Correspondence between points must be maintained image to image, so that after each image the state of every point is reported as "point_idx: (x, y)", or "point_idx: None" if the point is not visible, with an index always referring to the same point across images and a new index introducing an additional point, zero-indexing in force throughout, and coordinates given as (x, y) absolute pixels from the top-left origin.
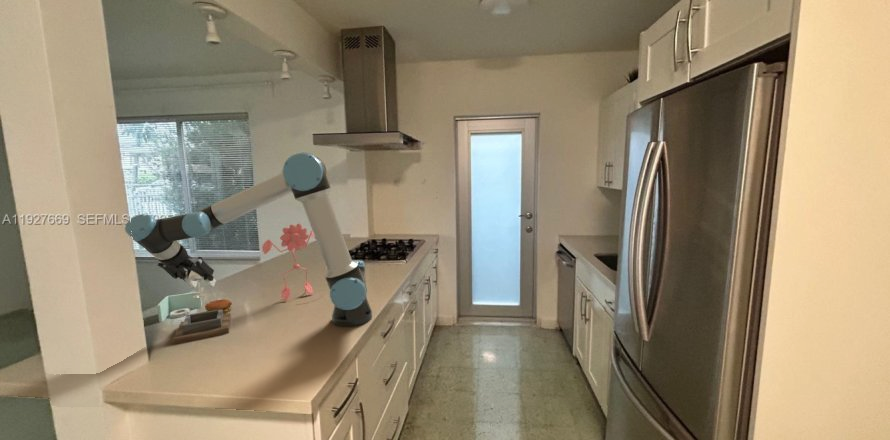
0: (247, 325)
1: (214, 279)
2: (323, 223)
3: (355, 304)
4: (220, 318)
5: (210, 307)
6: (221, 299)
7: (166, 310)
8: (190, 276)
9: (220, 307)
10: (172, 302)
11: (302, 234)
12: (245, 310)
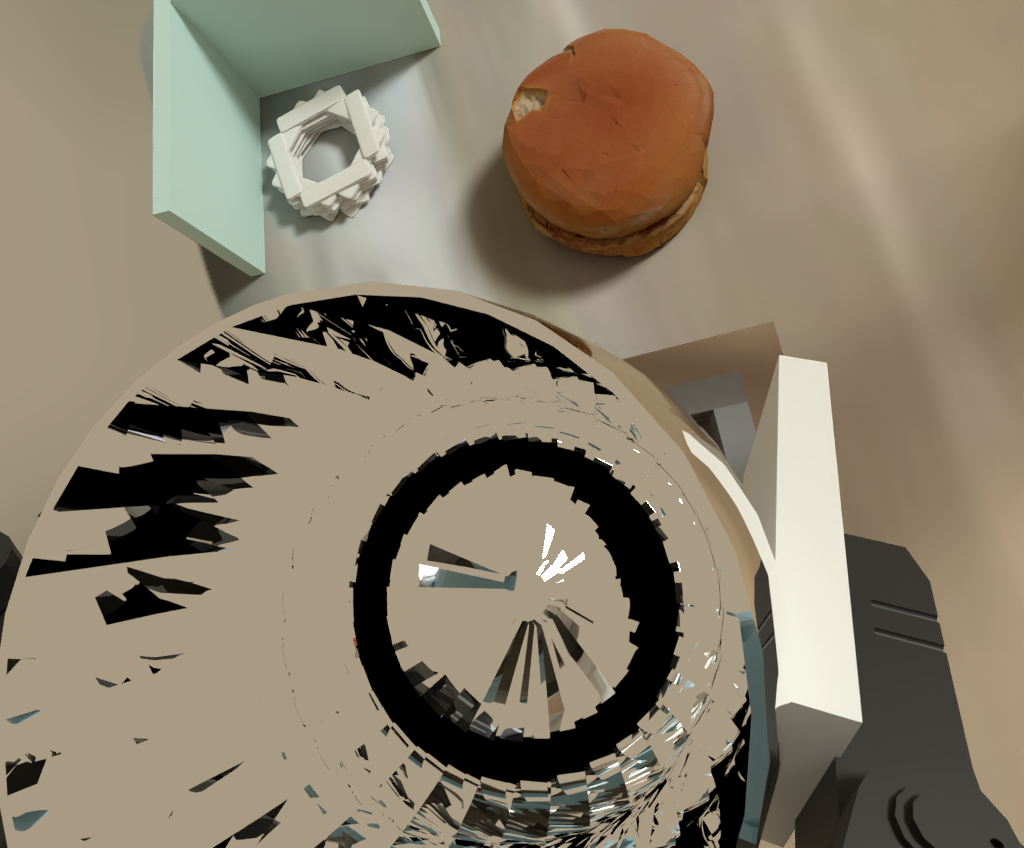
0: (1015, 599)
1: (828, 410)
2: None
3: None
4: None
5: (565, 207)
6: (608, 37)
7: (234, 140)
8: (381, 841)
9: (652, 210)
10: (229, 38)
11: None
12: (850, 191)
